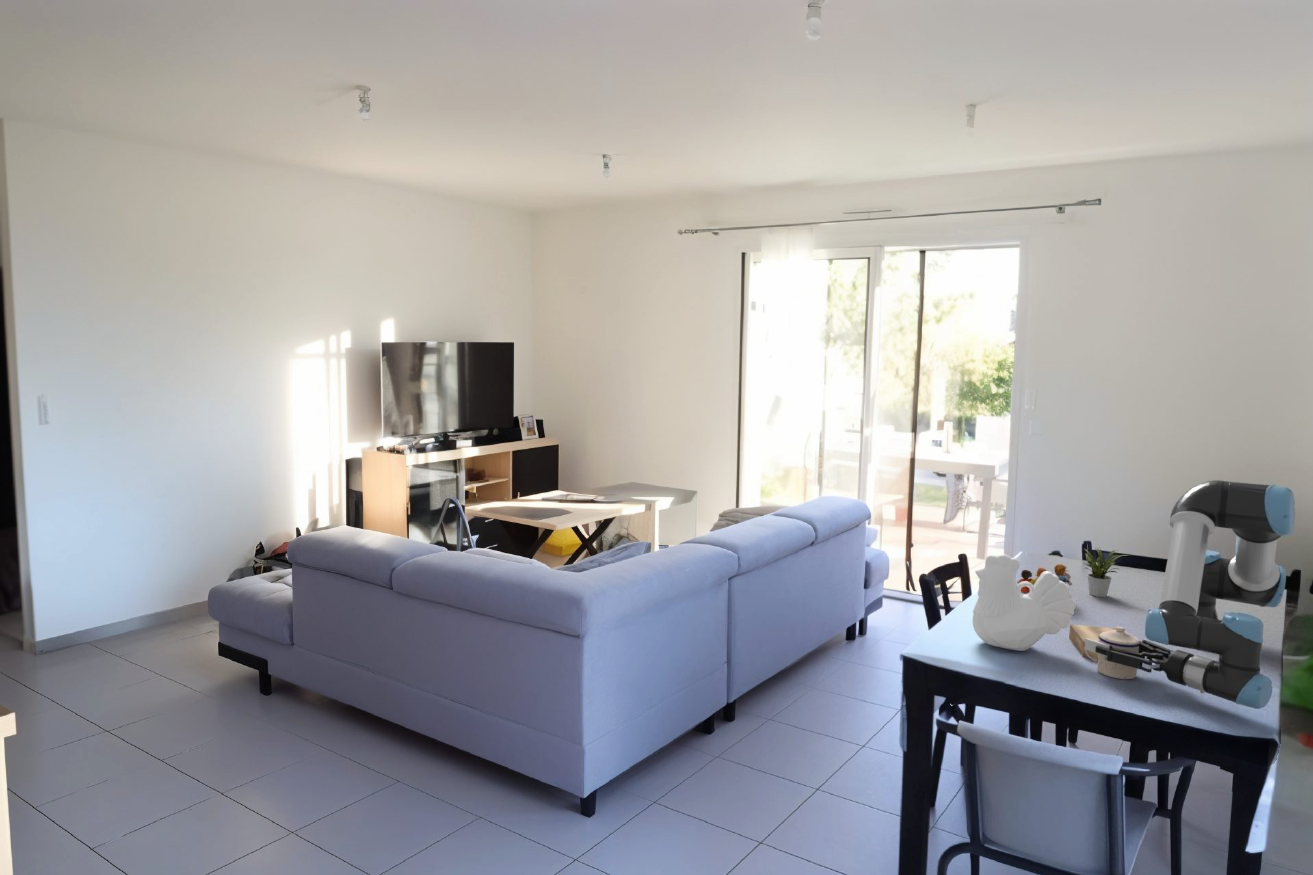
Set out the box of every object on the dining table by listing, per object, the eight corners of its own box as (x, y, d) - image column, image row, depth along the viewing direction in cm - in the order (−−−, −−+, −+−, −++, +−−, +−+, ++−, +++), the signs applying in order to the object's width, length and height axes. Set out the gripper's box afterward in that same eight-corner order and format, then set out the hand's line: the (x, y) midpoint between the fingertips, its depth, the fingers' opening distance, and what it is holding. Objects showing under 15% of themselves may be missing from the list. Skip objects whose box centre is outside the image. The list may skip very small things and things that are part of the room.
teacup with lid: (1136, 670, 214) (1140, 625, 213) (1138, 682, 206) (1142, 635, 205) (1083, 661, 219) (1086, 617, 218) (1082, 673, 211) (1086, 627, 210)
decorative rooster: (968, 650, 225) (974, 557, 223) (972, 632, 240) (978, 545, 237) (1073, 666, 215) (1081, 570, 213) (1071, 647, 230) (1079, 557, 227)
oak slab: (1120, 643, 234) (1121, 628, 234) (1137, 662, 220) (1138, 647, 219) (1069, 638, 237) (1070, 624, 237) (1082, 656, 223) (1084, 641, 222)
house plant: (1128, 594, 284) (1132, 545, 283) (1125, 603, 273) (1129, 553, 271) (1080, 586, 292) (1084, 539, 290) (1075, 595, 280) (1079, 547, 279)
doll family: (1064, 599, 276) (1068, 559, 275) (1088, 607, 267) (1091, 566, 266) (1011, 603, 270) (1014, 562, 268) (1033, 612, 261) (1036, 570, 259)
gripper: (1164, 695, 192) (1070, 662, 211) (1213, 677, 203) (1119, 648, 222) (1167, 662, 191) (1072, 632, 210) (1216, 647, 202) (1122, 620, 221)
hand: (1096, 640), depth 216 cm, fingers closed on teacup with lid, 9 cm apart
